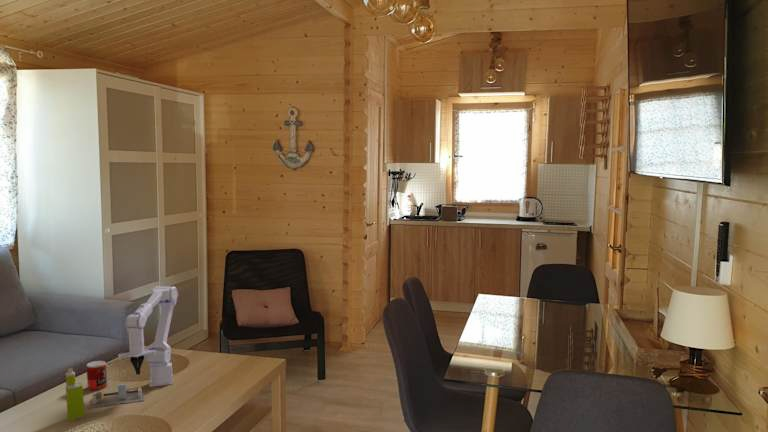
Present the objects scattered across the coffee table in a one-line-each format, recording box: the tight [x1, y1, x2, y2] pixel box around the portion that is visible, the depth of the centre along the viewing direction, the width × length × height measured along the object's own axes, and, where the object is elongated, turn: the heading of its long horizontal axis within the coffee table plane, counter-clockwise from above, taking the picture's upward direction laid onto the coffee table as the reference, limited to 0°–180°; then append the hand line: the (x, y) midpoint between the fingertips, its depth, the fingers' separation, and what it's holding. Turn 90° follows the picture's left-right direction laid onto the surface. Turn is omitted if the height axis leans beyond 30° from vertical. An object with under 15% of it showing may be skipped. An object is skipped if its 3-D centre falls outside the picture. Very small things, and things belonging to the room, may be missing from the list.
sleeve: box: [117, 382, 128, 398], centre depth 244 cm, size 3×3×5 cm
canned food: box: [86, 360, 108, 391], centre depth 257 cm, size 8×8×11 cm
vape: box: [65, 367, 85, 421], centre depth 226 cm, size 4×6×20 cm, turn 139°
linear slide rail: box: [88, 387, 146, 409], centre depth 243 cm, size 21×10×4 cm, turn 109°
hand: (138, 373), depth 245 cm, fingers closed
